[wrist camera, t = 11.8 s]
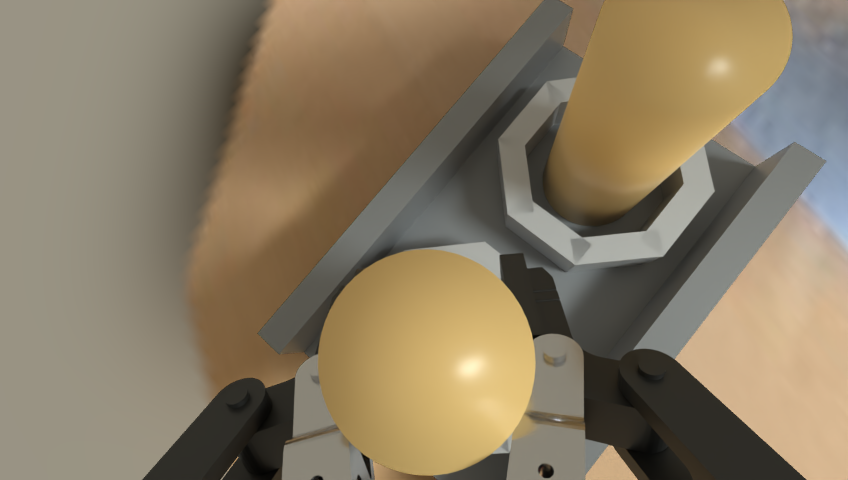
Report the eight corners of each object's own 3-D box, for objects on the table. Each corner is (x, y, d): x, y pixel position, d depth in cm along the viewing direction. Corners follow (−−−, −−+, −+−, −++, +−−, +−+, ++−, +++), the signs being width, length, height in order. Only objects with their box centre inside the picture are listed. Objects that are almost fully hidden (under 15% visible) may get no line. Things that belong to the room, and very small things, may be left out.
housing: (538, 52, 23) (588, -217, 12) (761, 194, 20) (1099, 19, 9) (298, 334, 22) (99, 330, 10) (502, 528, 19) (527, 804, 8)
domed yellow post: (449, 275, 19) (411, 208, 9) (529, 340, 18) (582, 343, 8) (385, 352, 18) (276, 368, 9) (463, 423, 18) (436, 528, 8)
